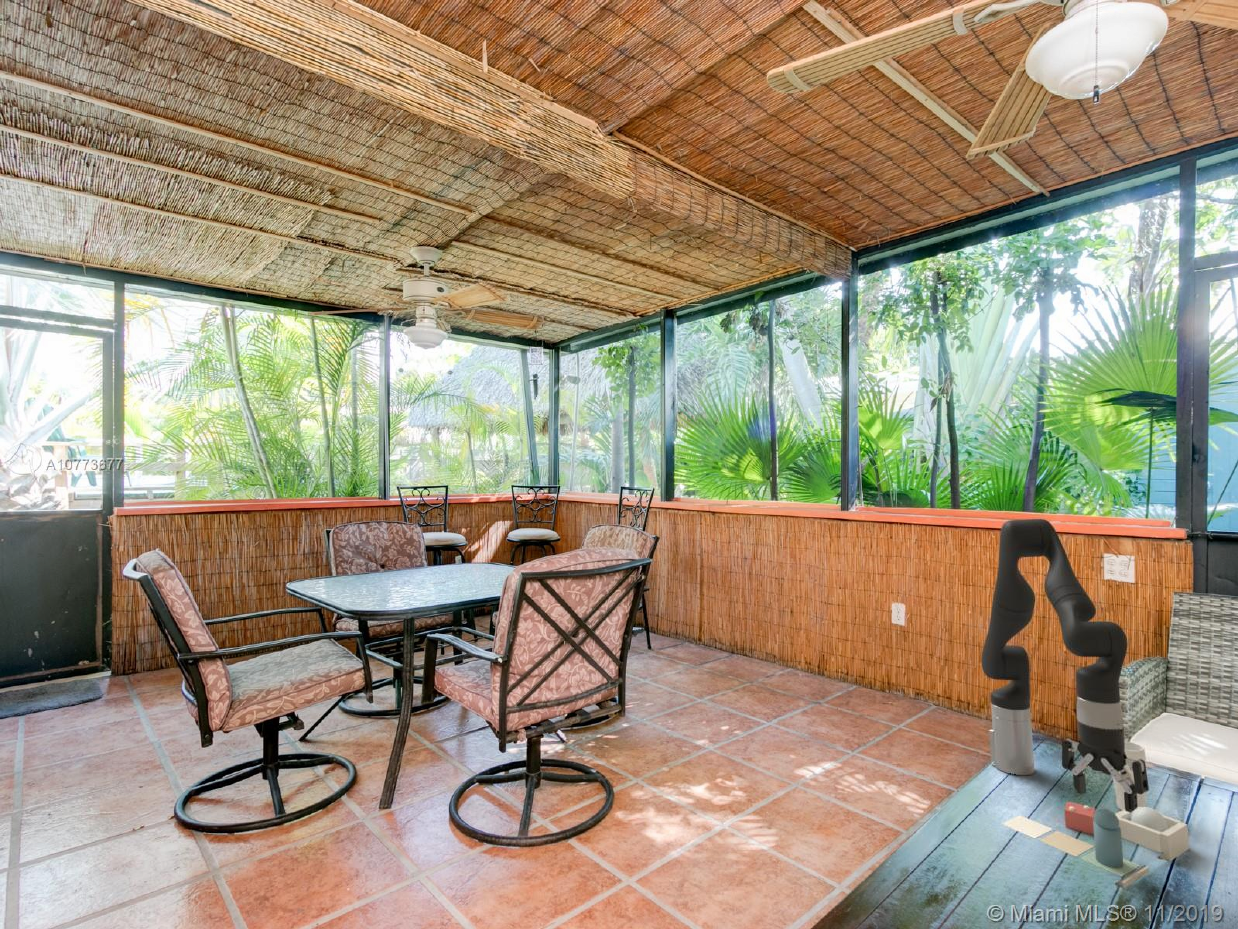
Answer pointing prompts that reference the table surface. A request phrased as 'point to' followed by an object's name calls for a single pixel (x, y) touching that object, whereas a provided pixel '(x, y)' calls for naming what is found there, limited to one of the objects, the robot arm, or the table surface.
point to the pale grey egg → (1149, 818)
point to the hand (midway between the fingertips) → (1105, 801)
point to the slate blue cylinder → (1107, 839)
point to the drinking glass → (1134, 753)
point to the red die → (1079, 817)
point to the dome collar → (1156, 835)
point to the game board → (1074, 848)
